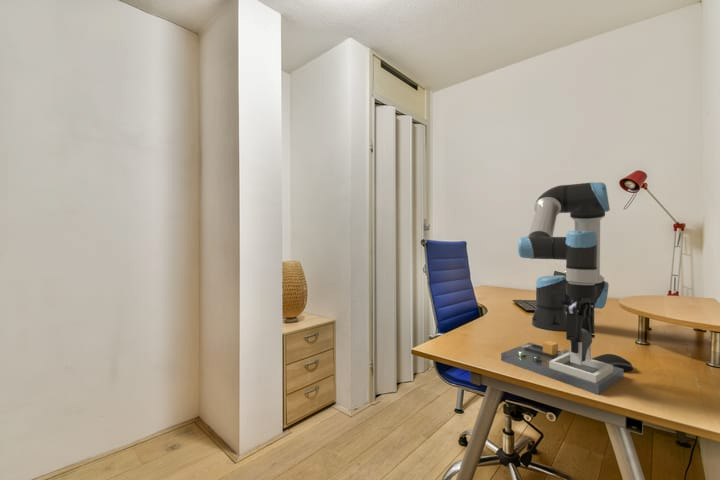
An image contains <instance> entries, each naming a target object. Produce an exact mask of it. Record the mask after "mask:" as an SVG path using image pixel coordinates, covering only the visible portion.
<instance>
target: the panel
mask: <svg viewBox="0 0 720 480" xmlns="http://www.w3.org/2000/svg"><path fill="white" fill-rule="evenodd" d="M569 351H570V350H569V349H566V348H565V349H563V350H558V354H556V355H551V354H548V353H544V352H543V345H540V344H536V343H532V342H528V343H525V344H522V345H519V346H517V347H513V348H511V349H509V350H506V351H503V352H501V353H500V356H501V357H500V360H501V361H502V362H504V363H508V364H510V365H514V366H516V367H519V368H522V369H524V370H528V371H531V372H533V373H536V374H539V375H541V376H544V377H547V378H549V379H550V378H551V380H552V379H553V380H556V381H559V382H561V383H563V384H567V385H569V386H572V387H576V388H578V389H581V390H584V391H586V392H590V393H592V394H596V395H598V396H600V395H601V394H603V392H605V391H606V390H608V389H610V388H611V387H612V386H614V385H615V384H616V383H618V382H619V381H620V380H623V379H624V373H625V372H624V369H622V368H618V367H614V366H613V372H612V373H611V374H609V375H608V376H606V377H605V378H603V379H602V380H600V381H598V382H597V383H594V382H591V381H588V380H585V379H582V378H579V377H576V376H573V375H570V374H567V373H564V372H561V371H558V370H555V369H552V368H549V361H551V360H553V359H555V358H557V357H559V356H561V355H564V354H566V353H570V352H569ZM564 365H567V366H571V367H574V368H577V369H580V370H583V371H587V372H590V373H595V372H597V371H598V370H600V369H597V368H593V367H590V366H587V365H583V364H582V365H579V364H575V363H572V362H570V361H568V362H566V363H564Z"/></svg>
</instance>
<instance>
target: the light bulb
mask: <svg viewBox="0 0 720 480" xmlns="http://www.w3.org/2000/svg"><path fill="white" fill-rule="evenodd" d="M580 342H582V362H583V361H585V359H586V354H587V349H588V347H589V346H590V344H591V345H592V342H593V338H592V336H591V334H590V333H589V332H588V331H587V330H585V329H583V328H582V331H581V339H580Z"/></svg>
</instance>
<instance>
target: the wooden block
mask: <svg viewBox="0 0 720 480" xmlns="http://www.w3.org/2000/svg"><path fill="white" fill-rule="evenodd" d="M542 346H543V352H544V353H548V354H551V355H556V354H558V351H559V342H555V341H552V340H547V341H545V342H542Z"/></svg>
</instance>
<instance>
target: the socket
mask: <svg viewBox="0 0 720 480" xmlns="http://www.w3.org/2000/svg"><path fill="white" fill-rule="evenodd" d="M568 361H570V352H569V353H566V354H564V355H561V356H559V357H557V358H555V359H553V360H551V361H549V368H552V369H555V370H558V371H561V372H564V373H567V374H570V375H573V376H576V377H579V378H582V379H585V380H588V381H591V382H594V383H597V382H598V381H600V380H602V379H603V378H605V377H606V376H608V375H609V374H611V373H612V372H613V365H610V364H607V363H603V362H600V361H596V360H592V358H591V360H587V359H585V361H583V362H582V364H583V365H587V366H590V367H593V368H597V369H600V370H598V371H597V372H595V373H590V372H587V371H583V370H580V369H577V368H574V367H571V366H567V365H564V363H566V362H568Z"/></svg>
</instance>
